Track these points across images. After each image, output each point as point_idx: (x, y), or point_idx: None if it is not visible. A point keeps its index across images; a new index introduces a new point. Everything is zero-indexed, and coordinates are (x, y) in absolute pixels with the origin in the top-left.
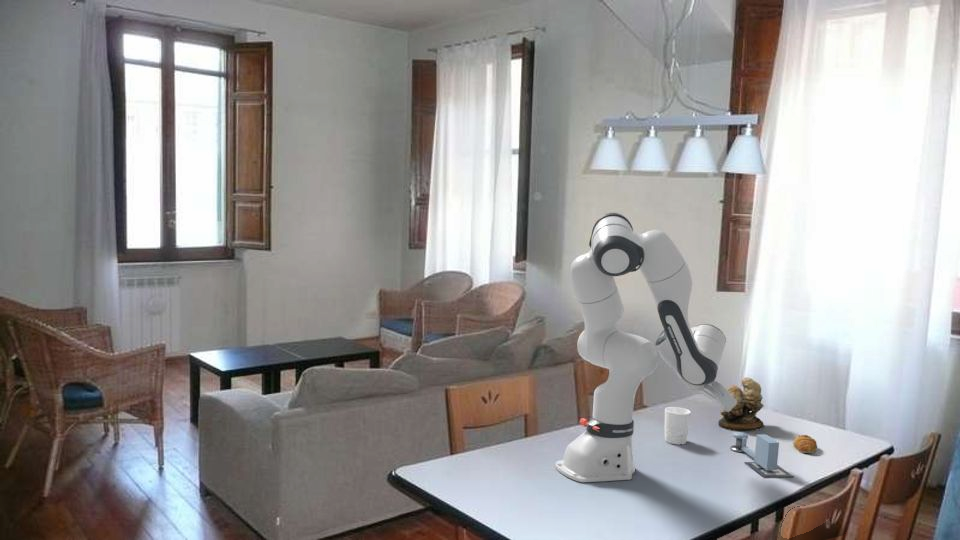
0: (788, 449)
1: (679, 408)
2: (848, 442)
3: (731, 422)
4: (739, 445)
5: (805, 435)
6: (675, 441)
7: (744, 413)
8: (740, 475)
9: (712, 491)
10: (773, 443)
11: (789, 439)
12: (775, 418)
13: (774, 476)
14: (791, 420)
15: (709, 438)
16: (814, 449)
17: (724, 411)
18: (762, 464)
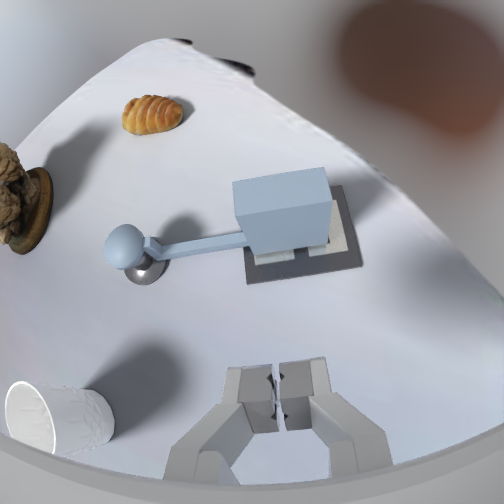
0: (151, 147)
1: (9, 398)
2: (138, 67)
3: (27, 228)
4: (146, 260)
5: (130, 103)
6: (109, 433)
7: (19, 193)
8: (353, 331)
9: (466, 434)
10: (328, 186)
11: (104, 137)
12: (29, 146)
13: (353, 234)
14: (43, 126)
15: (72, 311)
16: (178, 104)
17: (4, 234)
18: (301, 244)
